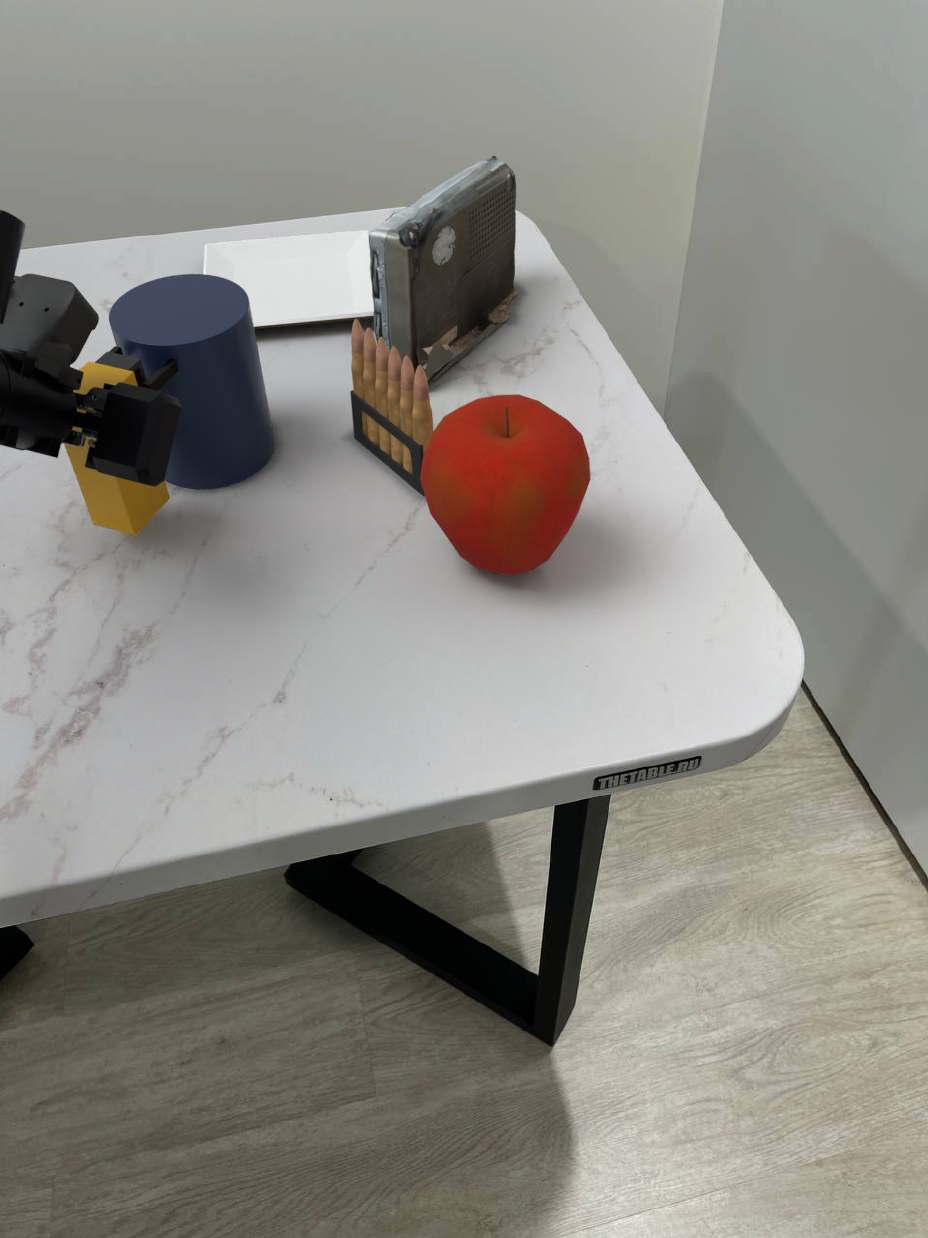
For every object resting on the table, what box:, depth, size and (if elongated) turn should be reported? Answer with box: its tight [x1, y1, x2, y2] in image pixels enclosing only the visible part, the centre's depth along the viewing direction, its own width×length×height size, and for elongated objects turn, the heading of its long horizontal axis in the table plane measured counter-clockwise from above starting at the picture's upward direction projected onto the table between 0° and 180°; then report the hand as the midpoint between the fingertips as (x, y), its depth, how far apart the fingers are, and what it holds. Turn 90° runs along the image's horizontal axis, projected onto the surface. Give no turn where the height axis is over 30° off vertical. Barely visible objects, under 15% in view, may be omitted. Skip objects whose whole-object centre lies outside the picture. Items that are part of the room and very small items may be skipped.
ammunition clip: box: [349, 319, 434, 496], centre depth 85 cm, size 11×2×12 cm, turn 38°
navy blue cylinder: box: [108, 273, 276, 490], centre depth 85 cm, size 14×11×14 cm
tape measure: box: [63, 351, 171, 537], centre depth 78 cm, size 7×4×12 cm, turn 158°
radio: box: [369, 155, 519, 386], centre depth 99 cm, size 23×9×15 cm, turn 144°
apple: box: [420, 394, 592, 575], centre depth 76 cm, size 12×12×14 cm
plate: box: [202, 229, 374, 330], centre depth 109 cm, size 19×19×2 cm
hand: (121, 435), depth 78 cm, fingers closed on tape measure, 4 cm apart
